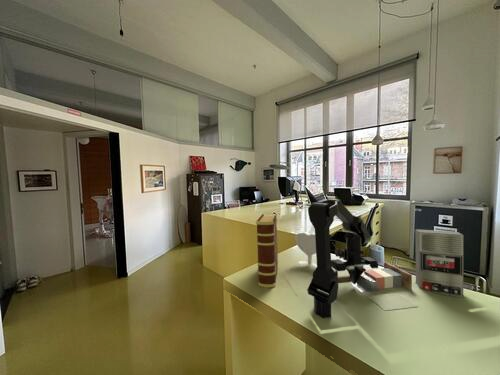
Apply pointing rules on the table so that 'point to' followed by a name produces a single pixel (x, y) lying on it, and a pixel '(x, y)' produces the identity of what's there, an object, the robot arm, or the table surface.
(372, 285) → the bookend
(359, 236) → the robot arm
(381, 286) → the salmon pink box
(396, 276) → the book
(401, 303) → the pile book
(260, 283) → the decorative book
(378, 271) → the cream rectangular block
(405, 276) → the shelf
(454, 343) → the table surface
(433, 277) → the cassette tape recorder
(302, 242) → the heart sculpture
